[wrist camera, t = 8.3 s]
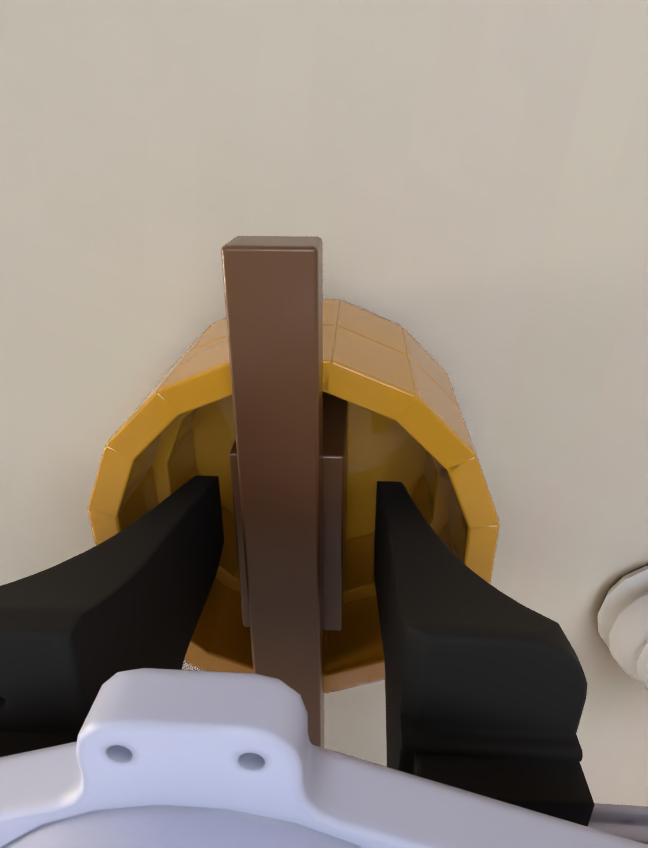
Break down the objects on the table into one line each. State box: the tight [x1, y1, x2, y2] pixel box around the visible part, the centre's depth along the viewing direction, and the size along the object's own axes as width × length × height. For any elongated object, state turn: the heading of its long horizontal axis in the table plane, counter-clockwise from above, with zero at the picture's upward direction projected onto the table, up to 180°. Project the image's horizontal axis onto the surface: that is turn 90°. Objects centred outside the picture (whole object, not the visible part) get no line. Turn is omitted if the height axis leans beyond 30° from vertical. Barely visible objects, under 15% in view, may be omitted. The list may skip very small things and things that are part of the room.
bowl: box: [88, 300, 499, 693], centre depth 16 cm, size 9×9×6 cm
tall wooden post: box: [221, 236, 348, 748], centre depth 15 cm, size 14×2×5 cm, turn 0°
